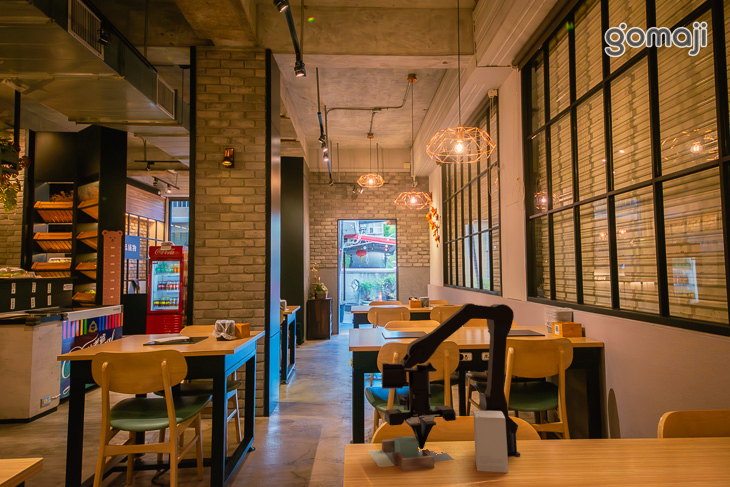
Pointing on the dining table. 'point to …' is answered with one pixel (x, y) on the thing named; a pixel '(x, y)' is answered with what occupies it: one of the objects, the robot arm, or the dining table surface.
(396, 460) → the tunnel
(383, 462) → the grey board
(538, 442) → the dining table surface
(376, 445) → the dining table surface
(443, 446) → the dining table surface
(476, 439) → the supplement box
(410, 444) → the block
